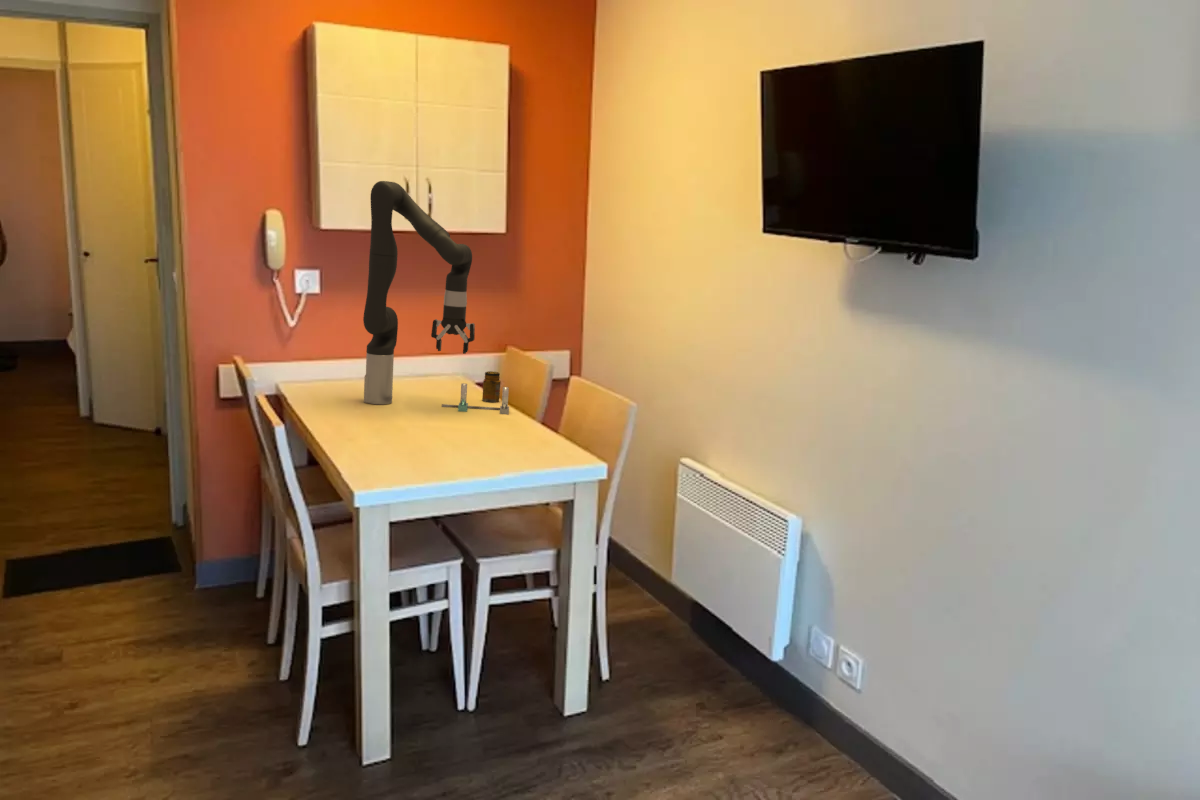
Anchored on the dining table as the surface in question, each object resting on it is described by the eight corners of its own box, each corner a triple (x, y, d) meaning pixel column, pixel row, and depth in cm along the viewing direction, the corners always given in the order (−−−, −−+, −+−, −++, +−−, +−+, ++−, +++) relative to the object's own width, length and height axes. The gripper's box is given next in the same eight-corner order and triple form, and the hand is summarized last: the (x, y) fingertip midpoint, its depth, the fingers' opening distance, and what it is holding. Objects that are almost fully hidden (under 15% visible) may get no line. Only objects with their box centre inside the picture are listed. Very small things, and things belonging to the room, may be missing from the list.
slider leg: (457, 411, 316) (459, 385, 314) (459, 408, 320) (460, 382, 319) (466, 411, 316) (468, 385, 314) (467, 408, 321) (469, 382, 319)
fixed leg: (499, 414, 317) (501, 388, 315) (500, 411, 322) (501, 385, 320) (508, 415, 317) (510, 389, 315) (508, 412, 322) (510, 386, 320)
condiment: (493, 402, 342) (495, 370, 339) (506, 407, 335) (508, 374, 333) (476, 404, 337) (478, 371, 335) (489, 408, 331) (491, 375, 328)
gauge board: (436, 418, 309) (436, 411, 309) (440, 409, 323) (440, 403, 323) (509, 422, 311) (509, 416, 311) (510, 413, 325) (510, 407, 325)
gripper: (431, 303, 309) (428, 351, 312) (474, 307, 309) (470, 355, 312) (436, 301, 317) (433, 348, 320) (478, 305, 316) (474, 352, 319)
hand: (451, 352), depth 316 cm, fingers open, 8 cm apart
